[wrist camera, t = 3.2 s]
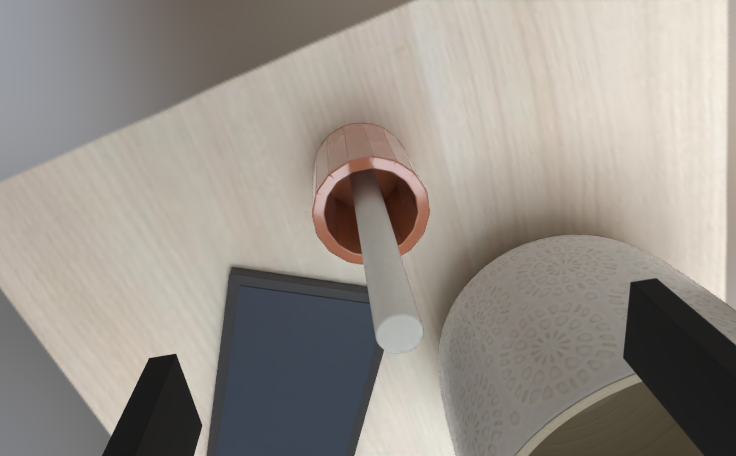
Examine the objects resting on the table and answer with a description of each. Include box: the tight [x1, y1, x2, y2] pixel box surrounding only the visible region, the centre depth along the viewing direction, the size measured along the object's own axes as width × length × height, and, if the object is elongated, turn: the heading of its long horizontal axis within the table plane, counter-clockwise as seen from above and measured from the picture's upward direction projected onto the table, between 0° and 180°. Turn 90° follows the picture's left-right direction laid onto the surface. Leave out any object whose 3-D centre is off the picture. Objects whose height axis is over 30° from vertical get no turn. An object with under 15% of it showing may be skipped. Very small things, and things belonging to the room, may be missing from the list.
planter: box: [438, 235, 736, 456], centre depth 29 cm, size 17×17×15 cm
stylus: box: [350, 168, 424, 354], centre depth 23 cm, size 2×2×16 cm
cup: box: [312, 123, 430, 265], centre depth 28 cm, size 6×6×7 cm
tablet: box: [207, 267, 384, 456], centre depth 36 cm, size 11×17×1 cm, turn 168°
